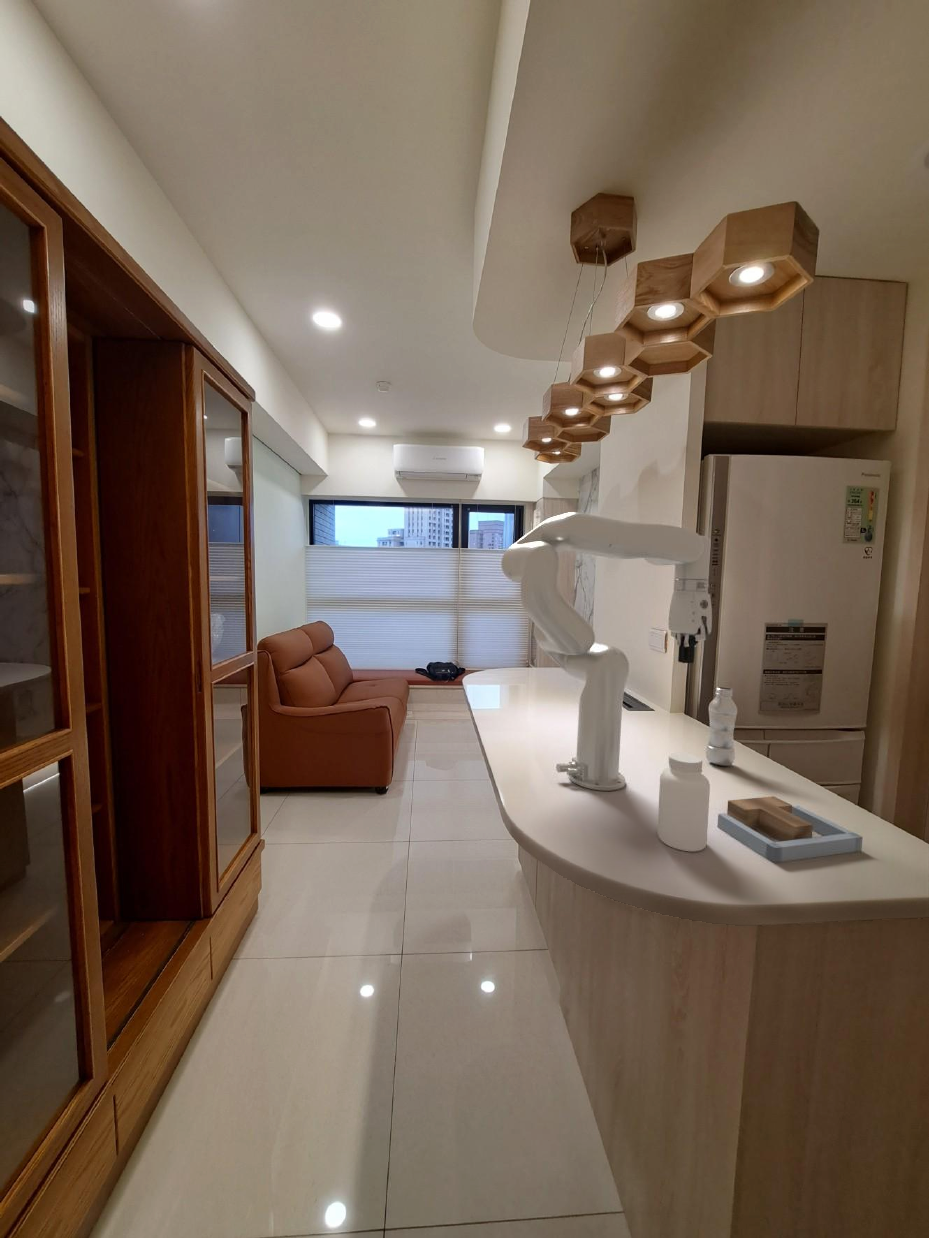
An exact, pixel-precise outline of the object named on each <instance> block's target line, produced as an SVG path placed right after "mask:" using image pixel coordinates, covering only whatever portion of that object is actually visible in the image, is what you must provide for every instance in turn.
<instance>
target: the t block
mask: <svg viewBox="0 0 929 1238" xmlns="http://www.w3.org/2000/svg"><path fill="white" fill-rule="evenodd" d="M792 806H793V805H792V804H790V803H788V802H786V801H784V800H783V799H781V798H778V797H776V796H774V795H773V796H763V797H752V798H740V799H739V798H738V799H731V800H730V799H728V800H727V809H726V814H727V815H729V816H731V817H732V818H734V819H736V820H737V821H739V822H741V823H742V824H744V825H746V826H747V827H749V828H751V829H752V830H754V831H756V830H760V831H761V832H763V833H764V834H766V835H768V836H770V837H772V838H773V839H775V840H777V842H781V841H789V840H797V839H805V838H813V831H814V830H813V825H812V824H810V823H808V822H807V821H805V820H803V819H801V818H799V817H797V816H795V815H793V814H792Z"/></svg>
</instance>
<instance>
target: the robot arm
mask: <svg viewBox="0 0 929 1238" xmlns="http://www.w3.org/2000/svg"><path fill="white" fill-rule="evenodd" d="M711 543H712V541H711V539H710V537H708V536H705V535H700V534H699V533H697V532H696V531H694V530H692V529H689V528H684V527H680V526H676V525H668V524H660V523H659V524H658V523H648V522H647V523H645V522H638V521H624V520H618V519H613V518H609V517H604V516H599V515H594V514H590V513H589V514H588V513H583V512H576V511H571V512H566V513H563V514H558V515H554V516H552V517H549V518H546V519H545V520H544V521H542V522H541V523H540V524H538V525H537V526H536V527H535V528H533V529H531V531H529V532H528V533H526V534H525V535H524V536H522V537H521V538H519V539H518V540H517V541H516V542H514V543H513V544H512V545H510V546H509V547H508V548H507V549H506V550H505V551H504V553H503V555H502V558H501V562H500V563H501V564H500V566H501V570H502V572H503V575H505V577H506V578H508V579H509V580H511V581H513V582H516V583H520V600H521V604H522V609H523V610H524V613H526V615H527V617H529V618H530V620H531V621H532V622H533V623H534V627H533V634H534V639H535V641H536V643H537V644H538V646H539V648H541V649H542V651H543V652H544V653H546V655H548V657H550V658H551V659H552V660H553V662H555V663H556V664H557V665H558V666H559V667H560V668H561V669H562V670H563V671H564V672H565V673H566V674H568V675H569V676H571V677H572V678H575V679H577V680H581V681H584V682H585V683H584V687H583V689H582V691H581V693H580V696H579V702H578V717H577V719H578V721H577V722H578V723H577V740H576V741H577V742H576V756H575V757H572V758H571V761H569V762H568V763H563V762H562V763H557V764H556V767H555V768H556V769H555V770H556V771H557V773H566V775H567V776H568V777H569V779H570V781H571V782H573V783H574V784H576V785H578V786H581V787H583V788H586V789H591V790H595V791H604V792H605V791H607V792H610V791H616V790H620V789H623V788H624V786H625V785H626V778H625V776H624V775H623V774H622V773H621V772H620V771H619V770H620V752H621V733H622V715H623V713H622V712H623V701H624V694H625V690H626V689H625V688H626V684H627V681H628V677H629V671H630V663H629V660H628V657H627V656H626V654H625V653H624V652H623V651H622V650H621V649H619V648H618V647H616V646H614V645H610V644H606V643H601V642H596V637H595V631H594V628H593V627H592V625H591V623H589V621H588V620H586V618H585V617H584V616H582V614H581V613H580V612H579V611H578V610H577V609H576V608H575V607H574V606H573V605H572V604H571V603H570V602H569V601H568V600H567V599H566V598H565V596H564V595H563V594H562V592H561V591H560V588H559V583H558V578H559V577H558V576H559V570H560V558H559V554H560V553H568V552H570V553H572V552H573V553H579V554H583V555H584V554H585V555H591V556H592V555H593V556H599V557H603V558H608V559H609V558H610V559H618V560H633V559H634V560H635V559H644V560H645V561H646V562H647V563H649V564H651V565H652V566H653V565H654V566H673V565H674V574H673V575H674V576H673V577H674V578H673V593H672V595H671V601H670V604H669V613H668V629H669V631H670V636H671V637H672V638H675V639H676V641H677V642H676V644H677V646H678V656H677V657H678V658H677V662H678V663H681V664H682V663H683V664H693V663H694V661H695V660H694V659H695V649H696V648H695V647H698V643H700V642H703V641H706V640H707V637H706V636H708V635H710V634H711V632H712V625H713V624H712V623H713V614H712V613H713V611H712V610H713V609H712V599H711V594H710V593H709V587H710V584H709V577H710V560H711V545H712V544H711Z"/></svg>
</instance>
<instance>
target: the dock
mask: <svg viewBox="0 0 929 1238" xmlns="http://www.w3.org/2000/svg"><path fill="white" fill-rule="evenodd" d="M792 814H793V815H795V816H797V817H799V818H801V819H803V820H805V821H807V822H808V823H810V824H812V825H813V831H815V832H816V833H818V834H820V835H822V836H816V837H815V836H814V837H813V836H812V838H805V839H797V840H789V841H781V842H780V841H775V842H774V841H773V840H770V839H769V838H768V837H766V836H764V835H762V834H761V833H759V832H757V831H756V830H752V829H751V828H749V827H747V826H746V825H744V824H742V823H741V822H739V821H737V820H736V819H734V818H732V817H731V816H729V815H727V813H726V812H725V813H718V814H717V815H718V816H717V826H716V827H717V828H718V829H720V830H722V831H723V832H725V833H726V834H728V835H729V836H731V837H733V838H734V839H736V840H737V841H739V842H741V843H742V844H744V845H746V846H747V847H748V848H750V849H751V850H753V851H754V852H757V853H758V854H759V855H760V856H762V857H764V858H765V859H767V860H768V861H770V862H771V863H773V864H777V863H784V862H791V861H797V860H798V861H799V860H805V859H813V858H818V857H819V858H820V857H827V856H834V855H841V854H847V853H854V852H862V849H863V846H862V845H863V836H862V835H859V834H858V833H855V832H854V831H852V830H850V829H847V828H845V827H844V826H841V825H839V824H836V823H835V822H832V821H830V820H829V819H827V818H825V817H823V816H821V815H818V814H816V813H814V812H812V811H810V810H807V809H806V808H804V807H801V806H799V805H792Z"/></svg>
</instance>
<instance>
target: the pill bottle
mask: <svg viewBox="0 0 929 1238" xmlns="http://www.w3.org/2000/svg"><path fill="white" fill-rule="evenodd" d="M659 777H660V778H659V790H658V791H659V792H658V794H659V796H658V808H657V809H658V811H657V836H658V839H659V840H660V841H661V842H662V843H664V844H665V845H667V846H669V847H671V848H672V849H673V848H674V849H676V850H679V851H685V852H699V851H703V850H704V849H705V848H706V846H707V841H708V828H709V827H708V826H709V811H710V810H709V808H710V792H711V791H710V790H711V789H710V788H711V785H710V780H709V779H708V778H707V776H706V775H705V774H703V760H702V759H701V757H698V756H697V755H694V754H690V753H684V752H673V753H670V754H669V755H668V767H667V768H664V769H663V770H662V772H661V773H660V776H659Z"/></svg>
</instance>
